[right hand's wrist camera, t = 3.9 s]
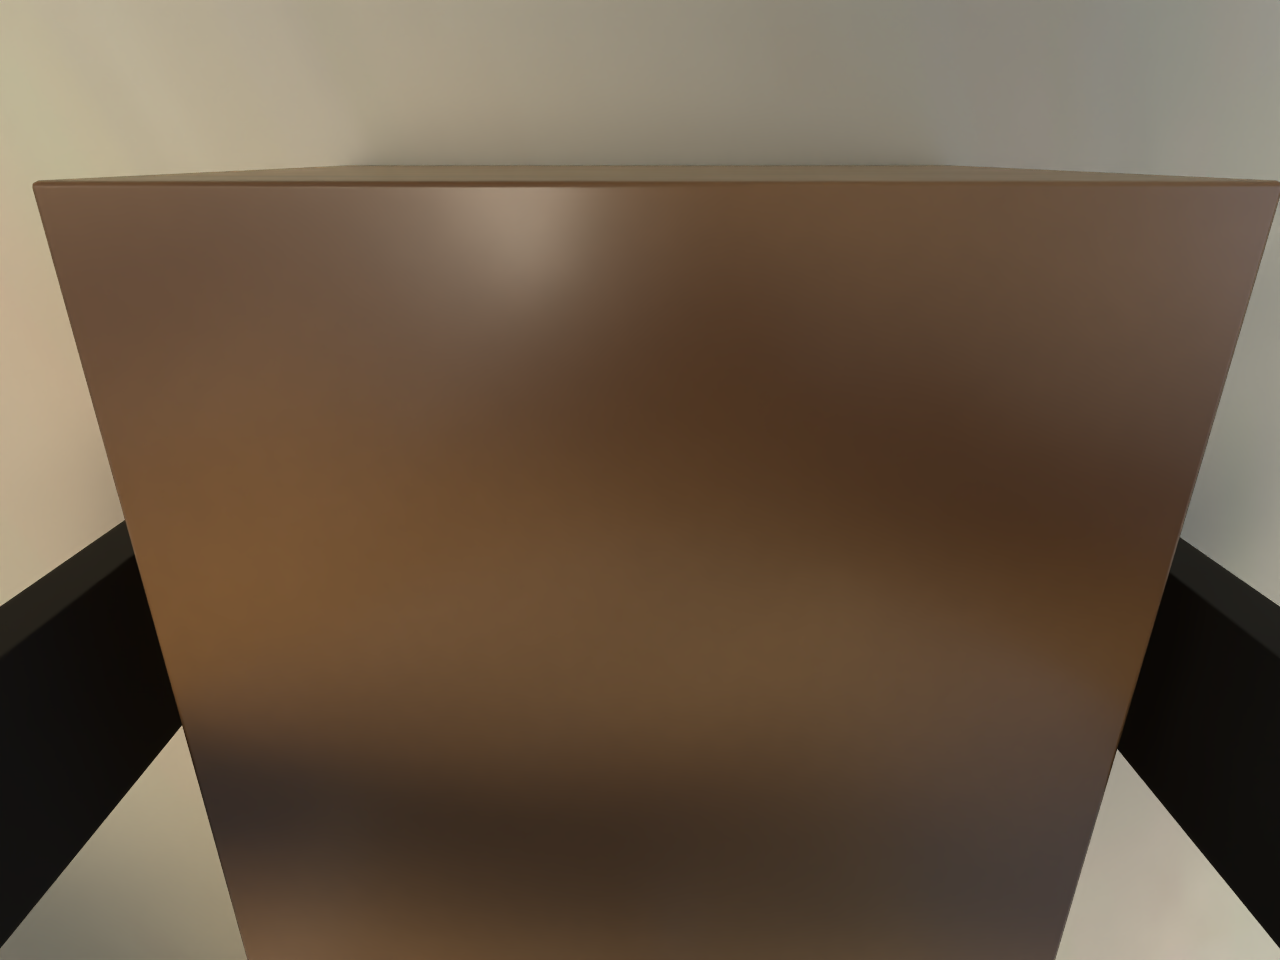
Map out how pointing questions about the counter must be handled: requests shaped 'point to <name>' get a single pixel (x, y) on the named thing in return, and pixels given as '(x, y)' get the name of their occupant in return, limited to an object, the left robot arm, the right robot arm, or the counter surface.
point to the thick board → (654, 536)
